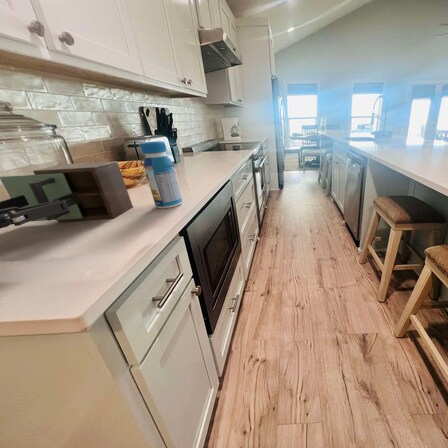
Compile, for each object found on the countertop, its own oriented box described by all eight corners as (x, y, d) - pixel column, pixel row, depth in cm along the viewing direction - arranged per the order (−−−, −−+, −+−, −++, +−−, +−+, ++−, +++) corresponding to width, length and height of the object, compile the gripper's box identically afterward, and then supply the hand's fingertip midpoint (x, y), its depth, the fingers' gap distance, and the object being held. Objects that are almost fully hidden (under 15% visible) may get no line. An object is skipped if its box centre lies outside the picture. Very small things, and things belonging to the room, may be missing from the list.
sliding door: (1, 230, 63) (-28, 182, 58) (26, 221, 69) (1, 176, 64) (64, 226, 64) (40, 178, 59) (83, 217, 70) (63, 173, 65)
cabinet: (57, 221, 70) (32, 170, 64) (83, 210, 80) (63, 164, 73) (113, 218, 71) (93, 167, 65) (133, 207, 80) (117, 161, 74)
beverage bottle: (177, 208, 77) (159, 142, 69) (150, 210, 77) (129, 144, 68) (186, 200, 85) (172, 140, 76) (162, 201, 84) (145, 141, 76)
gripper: (-103, 254, 47) (10, 214, 66) (30, 245, 47) (103, 208, 67) (-133, 218, 43) (-5, 187, 63) (10, 210, 44) (93, 182, 64)
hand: (51, 198), depth 65 cm, fingers open, 13 cm apart
